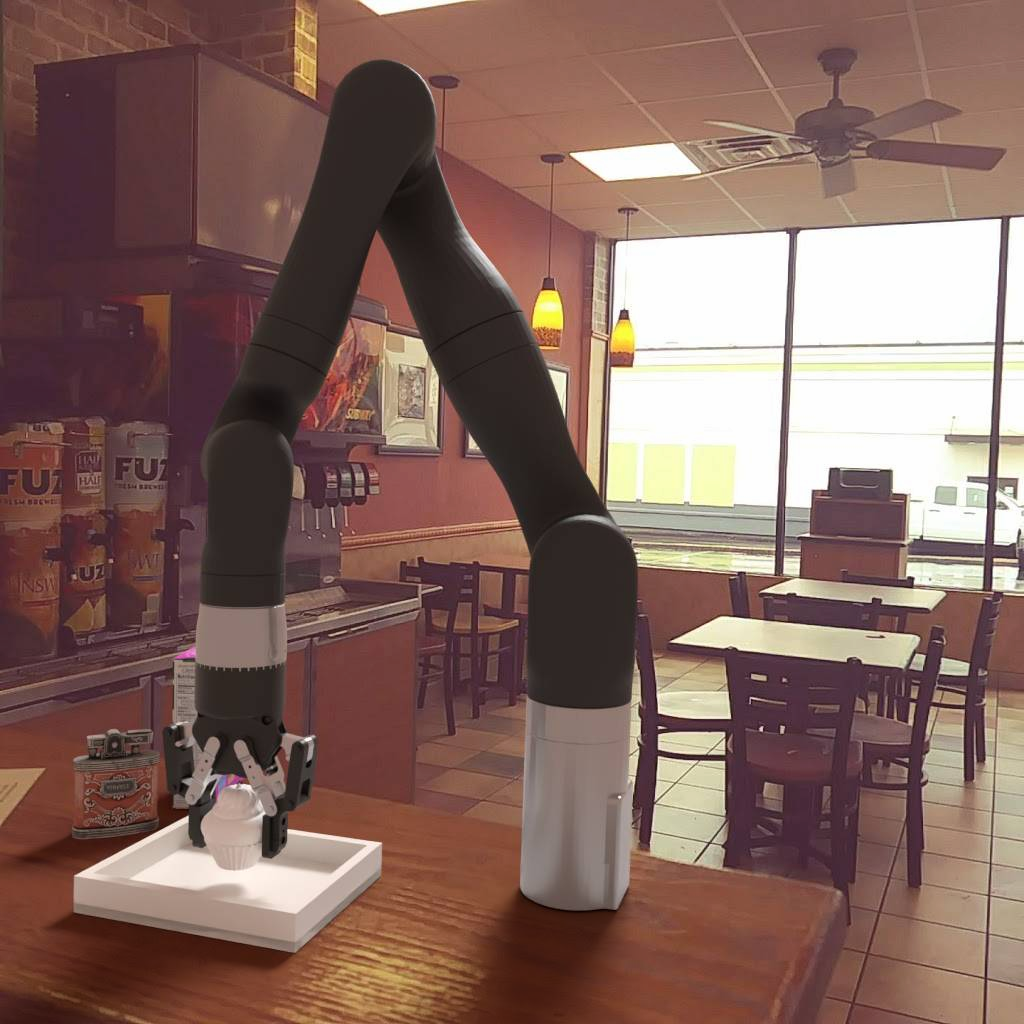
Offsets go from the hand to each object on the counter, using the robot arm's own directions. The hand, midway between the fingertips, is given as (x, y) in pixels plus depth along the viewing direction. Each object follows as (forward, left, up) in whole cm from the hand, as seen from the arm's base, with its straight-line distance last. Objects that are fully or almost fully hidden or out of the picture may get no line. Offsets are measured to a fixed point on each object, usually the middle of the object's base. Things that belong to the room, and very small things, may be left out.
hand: (236, 849), depth 89 cm
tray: (0, 0, -4) cm, 4 cm away
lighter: (+19, -9, -4) cm, 21 cm away
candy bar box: (+17, -22, -4) cm, 28 cm away
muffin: (0, 0, -1) cm, 1 cm away
